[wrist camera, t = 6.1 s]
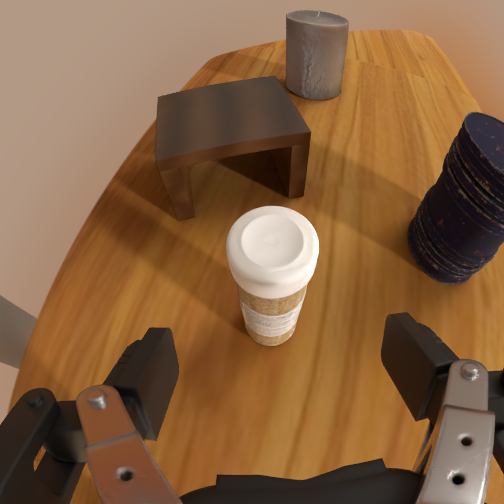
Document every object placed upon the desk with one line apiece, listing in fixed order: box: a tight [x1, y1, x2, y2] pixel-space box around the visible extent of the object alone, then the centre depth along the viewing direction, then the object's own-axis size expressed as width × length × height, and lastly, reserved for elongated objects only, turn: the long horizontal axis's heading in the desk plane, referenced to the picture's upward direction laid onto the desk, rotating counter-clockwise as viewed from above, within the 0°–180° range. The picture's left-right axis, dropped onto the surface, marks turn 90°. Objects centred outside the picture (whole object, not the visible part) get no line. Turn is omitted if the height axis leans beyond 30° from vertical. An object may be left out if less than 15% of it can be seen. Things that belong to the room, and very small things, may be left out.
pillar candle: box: [286, 10, 349, 100], centre depth 39 cm, size 10×10×15 cm
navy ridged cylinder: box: [408, 112, 504, 285], centre depth 22 cm, size 10×10×15 cm
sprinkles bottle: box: [226, 206, 319, 346], centre depth 20 cm, size 5×5×13 cm
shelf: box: [155, 76, 311, 221], centre depth 31 cm, size 14×12×9 cm
